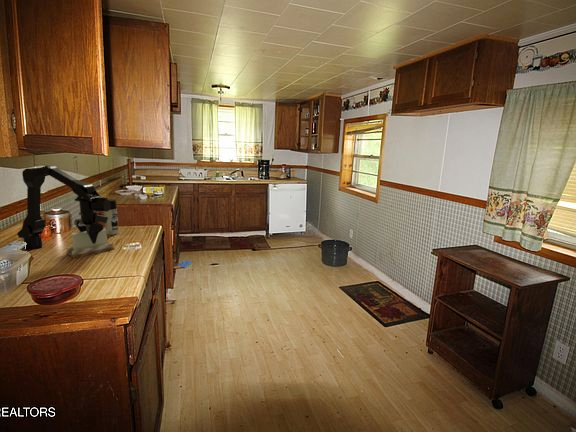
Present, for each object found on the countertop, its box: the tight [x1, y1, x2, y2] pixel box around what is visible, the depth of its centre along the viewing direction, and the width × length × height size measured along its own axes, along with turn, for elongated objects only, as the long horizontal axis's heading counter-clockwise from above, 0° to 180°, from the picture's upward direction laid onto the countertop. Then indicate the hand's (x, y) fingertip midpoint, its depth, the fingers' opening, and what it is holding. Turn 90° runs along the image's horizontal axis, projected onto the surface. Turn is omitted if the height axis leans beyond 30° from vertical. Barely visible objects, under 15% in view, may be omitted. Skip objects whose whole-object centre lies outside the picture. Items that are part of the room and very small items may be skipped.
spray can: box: [103, 198, 120, 236], centre depth 184 cm, size 7×7×20 cm
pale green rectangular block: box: [71, 228, 108, 251], centre depth 154 cm, size 14×4×9 cm, turn 142°
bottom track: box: [65, 240, 115, 259], centre depth 154 cm, size 18×9×3 cm, turn 142°
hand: (90, 241), depth 154 cm, fingers open, 9 cm apart
